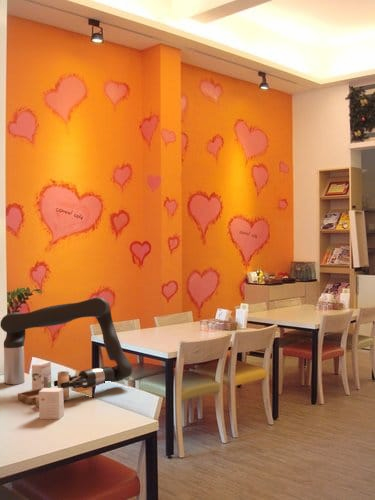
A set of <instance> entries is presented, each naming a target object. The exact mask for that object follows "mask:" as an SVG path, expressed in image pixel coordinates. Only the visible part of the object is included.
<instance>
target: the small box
mask: <svg viewBox="0 0 375 500" xmlns="http://www.w3.org/2000/svg"><path fill="white" fill-rule="evenodd" d="M64 401H65V400H63V388H58V387H49V388H43V389H42V390H40V391H39V407H38V416H39V420H60V419H61V418H62V417H63V416H64V415H65V407H64V404H65V402H64Z"/></svg>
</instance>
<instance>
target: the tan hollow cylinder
mask: <svg viewBox="0 0 375 500" xmlns="http://www.w3.org/2000/svg"><path fill="white" fill-rule="evenodd" d="M69 375H70V372H69V371H67V370H61V371H58V372H57V380H58V386H57V388H61V386H60V384H61V383H64V382H69ZM69 399H70V387H68V388H63V400H64V401H66V400H69Z"/></svg>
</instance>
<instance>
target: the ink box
mask: <svg viewBox="0 0 375 500" xmlns="http://www.w3.org/2000/svg"><path fill="white" fill-rule="evenodd" d="M51 363H52V362H51V361H40V362H37V363H34V364H32V365H31V381H32V382H31V391H33V390H37V389H43V388H44V377H45V376H48V388H52V364H51Z"/></svg>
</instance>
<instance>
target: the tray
mask: <svg viewBox="0 0 375 500" xmlns="http://www.w3.org/2000/svg"><path fill="white" fill-rule="evenodd" d="M40 390H42V389H37V390H33V391H32V390H29V391H23V392H19V393H17V400H18V401H21V402H23V403H26V404H29V405H32V406H33V405H36V396H39V391H40Z"/></svg>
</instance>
